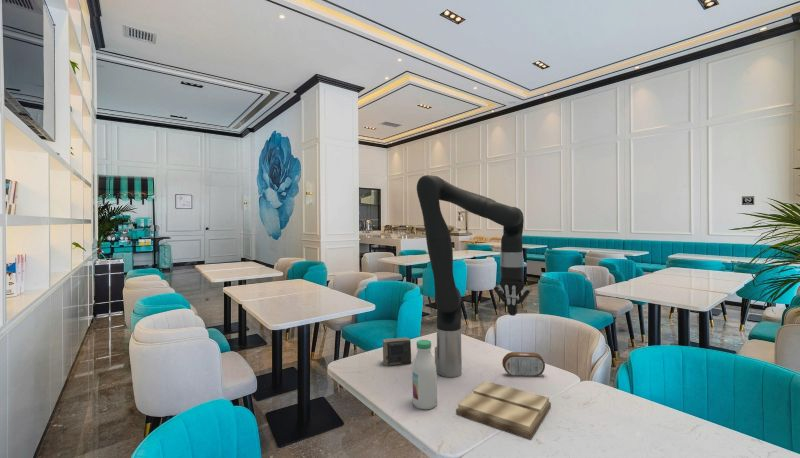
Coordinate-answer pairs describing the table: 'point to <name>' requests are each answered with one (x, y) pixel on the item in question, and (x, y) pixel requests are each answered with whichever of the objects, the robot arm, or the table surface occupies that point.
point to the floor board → (501, 415)
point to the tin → (523, 364)
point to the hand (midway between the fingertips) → (512, 315)
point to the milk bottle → (424, 377)
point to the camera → (396, 351)
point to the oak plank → (512, 396)
